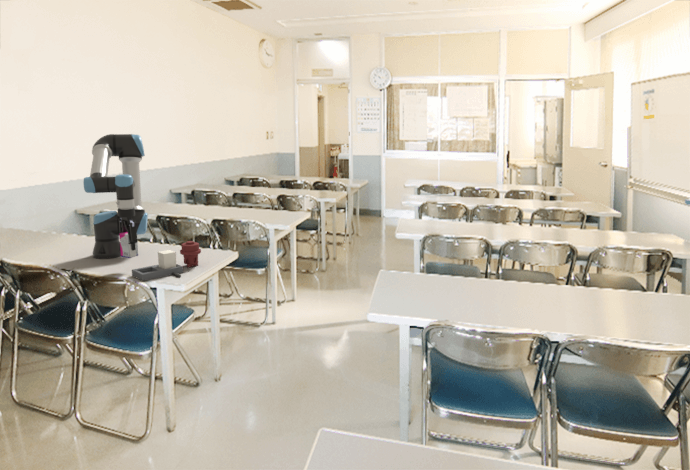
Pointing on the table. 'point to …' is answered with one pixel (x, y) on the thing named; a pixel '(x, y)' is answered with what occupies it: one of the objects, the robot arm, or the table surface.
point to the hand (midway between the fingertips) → (129, 254)
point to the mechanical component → (190, 253)
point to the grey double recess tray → (160, 267)
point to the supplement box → (126, 245)
